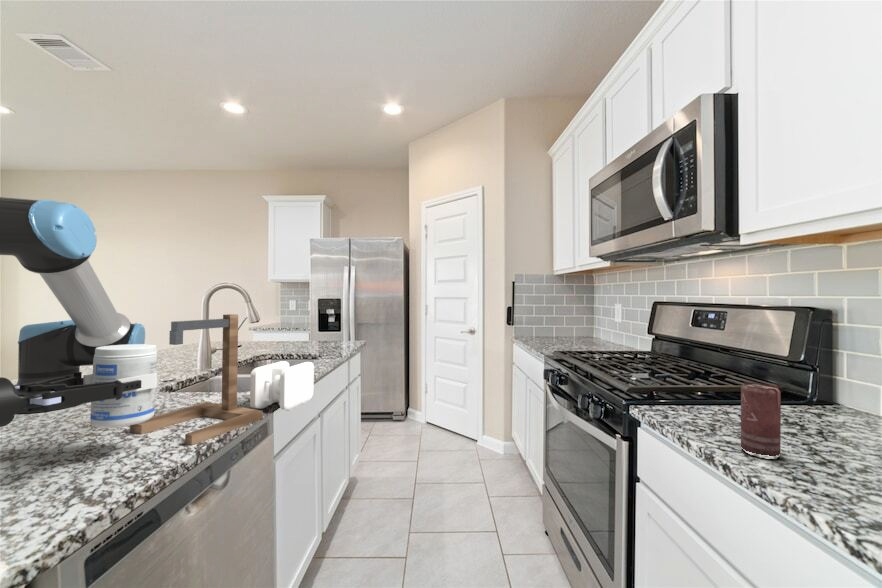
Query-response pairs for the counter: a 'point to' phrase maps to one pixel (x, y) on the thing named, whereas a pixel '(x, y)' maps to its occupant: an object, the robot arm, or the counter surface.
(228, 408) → the wooden hook stand
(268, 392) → the cable organizer
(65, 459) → the counter surface
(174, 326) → the hook arm
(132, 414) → the supplement tub
